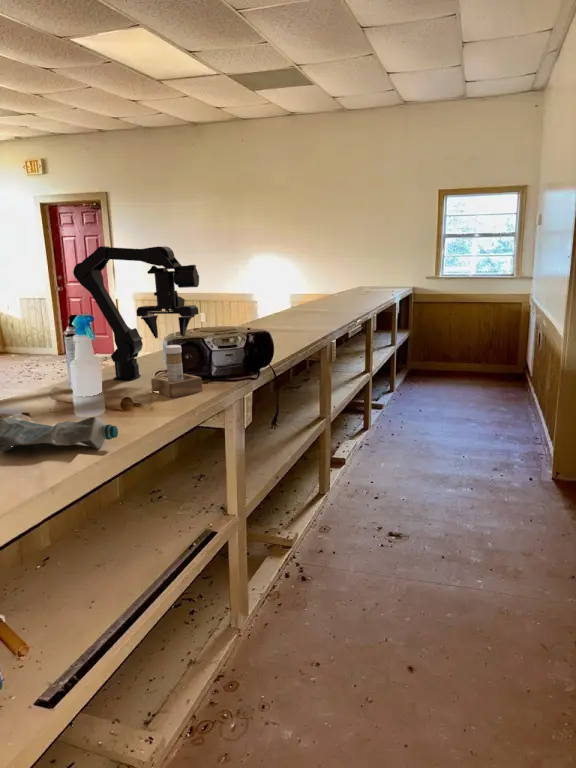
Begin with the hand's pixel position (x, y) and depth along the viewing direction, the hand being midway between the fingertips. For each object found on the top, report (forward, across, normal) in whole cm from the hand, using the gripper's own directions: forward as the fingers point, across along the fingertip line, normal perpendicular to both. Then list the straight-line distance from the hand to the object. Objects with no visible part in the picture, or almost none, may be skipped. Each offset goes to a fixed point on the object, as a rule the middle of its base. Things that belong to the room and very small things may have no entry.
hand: (169, 338), depth 175 cm
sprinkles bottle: (+13, -9, +15) cm, 22 cm away
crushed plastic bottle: (+13, -6, +64) cm, 66 cm away
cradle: (+13, -9, +15) cm, 22 cm away
